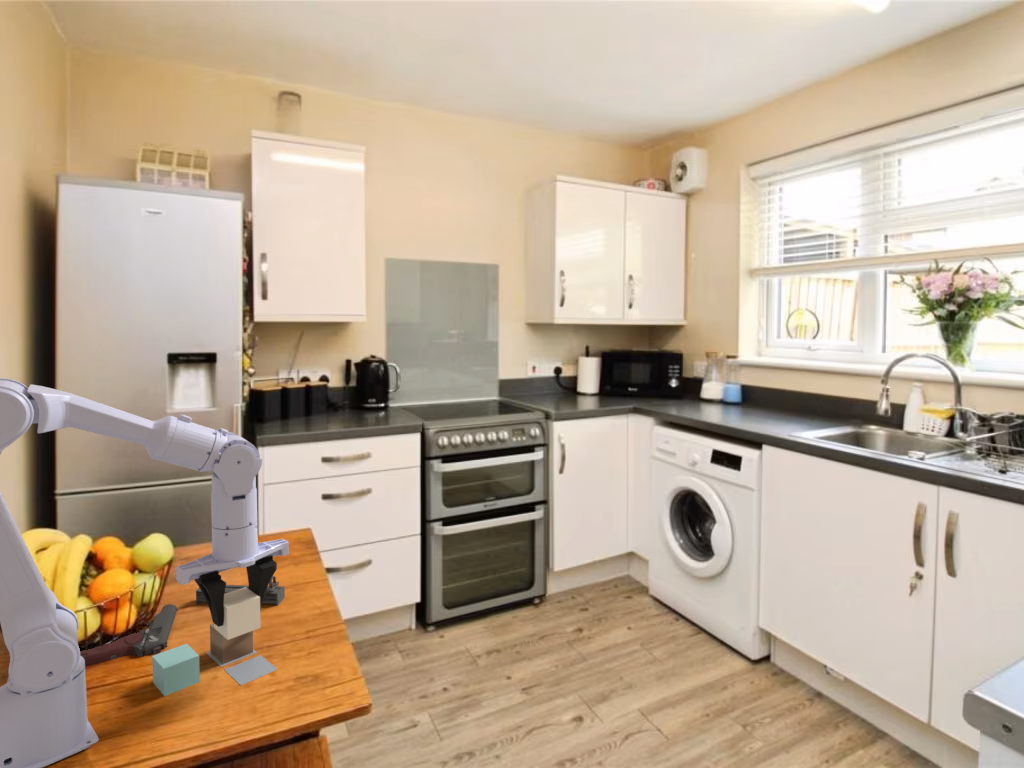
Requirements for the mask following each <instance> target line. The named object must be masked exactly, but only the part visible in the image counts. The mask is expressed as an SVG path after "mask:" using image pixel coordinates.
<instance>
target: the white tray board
mask: <svg viewBox="0 0 1024 768" xmlns="http://www.w3.org/2000/svg"><path fill="white" fill-rule="evenodd" d="M257 653H258V651H256V649H254V648H253V652H252V653H250V654H247V655H245V656H242V657H240V658H237V659H235V660H232V661H230V662H227V663H225V664H222V663H221V662H220V661H219V660H218V659H217V658H216V657H215V656H214V655H213V654H211V650H209V651H207V652H206V654H207V655H208V657H210V658H211V659H212V660H213V661H214V662H215V663H216V664H217V665H219V666H220V667H221V668H223V667H224V666H225V667H226V666H228V665H230V664H232V663H235V662H238V661H240V660H243V659H245V658H246V657H249V656H252V655H254V654H257ZM277 670H278V668H277V667H276V666H275V665H273V664H272V663H271V662H270V661H268V659H266V658H265V657H264V656H262V655H261V654H259V655H257V656H254V657H252V658H250V659H247V660H245V661H243V662H240V663H237V664H235V665H233V666H230V667H228V668H225V669H224V671H225V673H226V674H228V675H229V676H230V678H232V679H233V680H234V681H235V682H236V683H238V684H239V686H244V685H245V684H247V683H250V682H252V681H254V680H257V679H259V678H261V677H263V676H264V677H265V676H266V675H268V674H270V673H273V672H275V671H277Z"/></svg>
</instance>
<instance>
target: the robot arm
mask: <svg viewBox="0 0 1024 768" xmlns="http://www.w3.org/2000/svg"><path fill="white" fill-rule="evenodd" d="M192 420H193V419H192V417H191V416H189V415H187V414H186V415H185V414H184V413H183V414H182V413H180V414H179V416H178V417H177V416H174V415H166V416H164V417H162V418H160V419H156V420H150V419H147V418H145V417H143V416H139V415H136V414H133V413H131V412H127V411H125V410H122V409H118V408H115V407H113V406H110V405H107V404H105V403H100V402H99V401H98V402H97V401H95V400H92V399H89V398H87V397H84V396H80V395H77V394H75V393H71V392H69V391H65V390H60V389H55V388H51V387H47V386H43V385H37V384H29V386H26V385H25V384H24V383H22V382H20V381H18V380H15V379H12V378H4V377H3V378H1V377H0V455H1V454H2V452H3V451H4V450H5V449H6V448H8V447H9V446H11V445H12V444H13V443H15V442H16V441H17V440H18V439H20V438H21V437H22V436H23V435H25V433H27V432H28V431H29V429H30V427H31V426H32V424H37V430H36V431H37V434H43V433H48V432H52V431H57V430H62V429H65V428H66V429H67V428H73V429H77V430H81V431H86V432H90V433H94V434H98V435H102V436H106V437H111V438H114V439H118V440H122V441H126V442H130V443H135V444H138V445H143V447H144V448H145V450H146V452H147V454H148V456H149V458H150V459H153V460H157V461H160V462H164V463H168V464H170V465H171V464H172V465H175V466H177V467H178V466H179V467H183V468H186V469H189V470H194V471H198V472H200V473H204V472H212V473H211V491H210V504H211V505H210V508H211V509H210V512H211V516H210V517H211V518H210V519H211V549H212V550H211V552H212V553H209V554H207V555H204V556H202V557H199V558H196V559H194V560H192V561H190V562H187V563H184V564H181V565H177V566H176V567H175V575H176V576H175V577H176V579H175V580H176V582H177V583H178V584H180V585H183V586H184V585H188V584H190V583H191V582H192V581H193V580H194V582H195V583H196V584H197V586H198V588H200V589H201V591H202V593H203V595H204V597H205V599H206V601H207V602H206V604H207V607H208V609H209V611H210V614H211V619H212V624H213V623H214V624H216V625H217V626H218V627H220V626H222V625H223V623H224V593H225V587H226V585H227V582H226V581H225V580H223V579H222V575H220V574H219V573H221V572H225V571H230V570H232V569H237V568H241V569H242V568H243V569H244V568H246V575H247V581H248V583H247V584H248V585H249V590H251V591H252V592H254V593H255V594H256V595H258V596H259V597H260V613H261V611H262V606H263V604H262V603H263V599H264V595H265V592H266V589H267V587H268V586H269V582H270V580H271V578H272V576H274V574H275V573H276V571H277V569H278V564H277V563H278V562H277V561H275V560H274V557H278V556H281V557H285V556H287V555H288V556H289V555H290V553H289V552H290V551H289V550H290V549H289V545H290V544H289V543H290V542H289V541H288V540H285V539H284V538H279V539H275V540H269V541H268V540H267V541H261V542H259V540H258V539H259V538H258V537H259V536H258V489H257V475H258V474H259V472H260V470H261V468H262V465H263V459H262V458H261V457H260V456H261V455H260V452H259V450H258V448H257V447H256V446H255V445H254V444H252V442H250V441H248V440H247V439H246V438H244V437H242V436H240V435H238V434H236V433H235V432H229V430H227V429H226V428H222V427H219V428H218V430H217V429H214V428H211V427H208V426H204V425H201V424H198V423H196V422H192ZM26 543H27V542H25V539H24V537H23V536H22V533H21V532H20V529H19V527H18V525H17V524H16V521H15V519H14V517H13V515H12V512H11V511H10V510H9V507H8V506H7V503H6V501H5V499H4V497H3V495H2V493H1V492H0V627H1V632H2V636H3V640H4V641H3V642H4V644H5V646H6V648H7V650H8V653H9V657H10V659H9V665H8V677H7V682H6V683H5V684H3V685H1V686H0V768H45V767H47V766H49V765H51V764H54V763H56V762H58V761H61V760H63V759H66V758H68V757H70V756H72V755H75V754H77V753H79V752H81V751H83V750H87V749H88V748H91V746H92V745H94V744H96V743H98V742H99V741H100V739H99V737H98V734H97V732H96V731H95V730H94V728H93V726H92V725H91V723H90V721H89V720H88V705H87V703H88V702H87V684H86V683H87V680H86V679H87V678H86V666H85V660H84V658H83V657H82V656H80V648H79V647H80V646H79V637H78V631H79V619H78V616H77V614H76V613H75V612H74V611H73V610H72V609H70V608H68V607H66V606H64V605H63V604H61V603H60V601H59V600H58V599H57V596H56V594H55V593H54V592H53V591H52V590H51V589H50V588H49V587H48V586H47V583H46V582H45V580H44V577H43V576H42V573H41V572H40V570H39V568H38V565H37V563H36V562H35V560H34V557H33V556H32V553H31V552H30V550H29V547H28V546H27V544H26Z"/></svg>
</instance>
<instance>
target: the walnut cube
mask: <svg viewBox="0 0 1024 768" xmlns="http://www.w3.org/2000/svg"><path fill="white" fill-rule="evenodd" d="M253 631H254V630H253ZM253 631H251V632H248V633H245V634H243V635H240V636H237V637H234V638H232V639H229V640H227V639H226V638H225V637H224V636H223V635H221V634H220V633H219V632H218V631H217V630H216V629H215V628H214V623H213V622H212V623H210V624H209V633H210V636H209V637H210V638H209V640H210V641H209V642H210V643H209V644H210V650H209V651H211V654H213V655H214V656H215V657H216V658H217V659H218V660H219V661H220V662H221V663H222V664H225V663H227V662H230V661H232V660H235V659H237V658H240V657H242V656H245V655H247V654H250V653H252V652H253V649H254V632H253Z"/></svg>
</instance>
